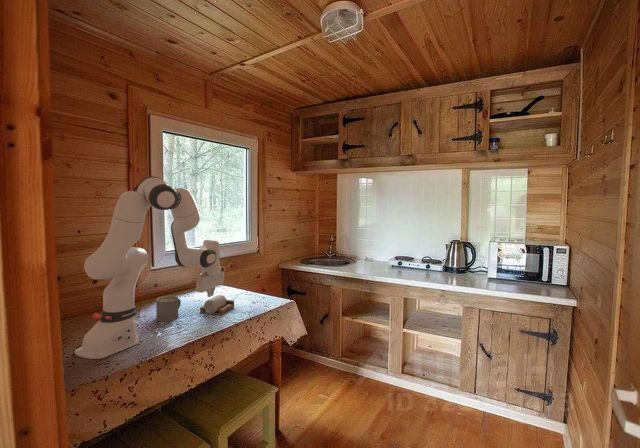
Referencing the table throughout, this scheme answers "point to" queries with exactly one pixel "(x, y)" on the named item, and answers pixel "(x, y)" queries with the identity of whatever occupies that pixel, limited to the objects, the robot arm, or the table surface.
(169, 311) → the coffee mug
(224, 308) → the cradle
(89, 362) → the table surface
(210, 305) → the can
